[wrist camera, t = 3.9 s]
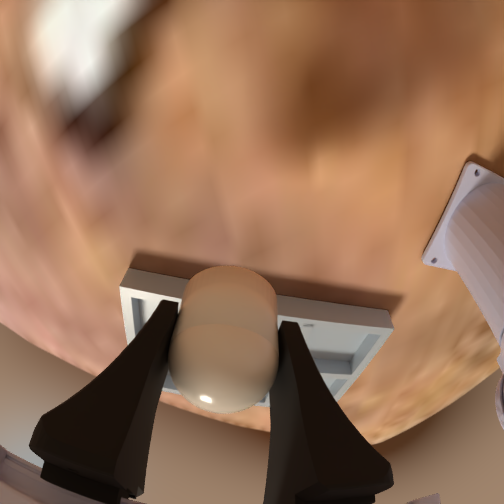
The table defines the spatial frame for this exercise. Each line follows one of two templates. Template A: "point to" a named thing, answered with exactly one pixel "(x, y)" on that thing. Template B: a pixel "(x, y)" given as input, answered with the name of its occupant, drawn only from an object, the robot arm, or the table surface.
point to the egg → (225, 340)
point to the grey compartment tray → (289, 309)
